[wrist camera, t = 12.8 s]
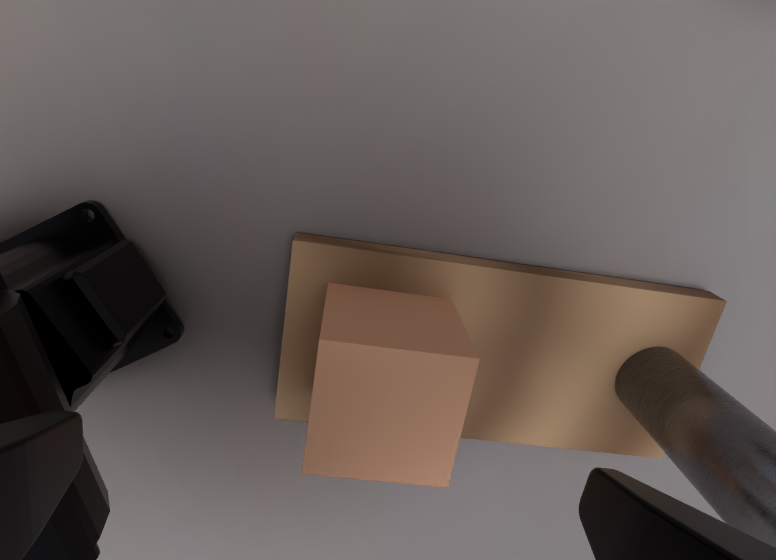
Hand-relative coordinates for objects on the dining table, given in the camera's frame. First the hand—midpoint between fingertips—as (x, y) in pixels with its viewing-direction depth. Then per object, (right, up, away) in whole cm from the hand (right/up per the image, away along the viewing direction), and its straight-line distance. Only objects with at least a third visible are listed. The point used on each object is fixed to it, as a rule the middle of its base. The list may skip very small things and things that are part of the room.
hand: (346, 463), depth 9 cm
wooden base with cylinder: (+5, 0, +14) cm, 15 cm away
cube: (0, 0, +12) cm, 12 cm away
